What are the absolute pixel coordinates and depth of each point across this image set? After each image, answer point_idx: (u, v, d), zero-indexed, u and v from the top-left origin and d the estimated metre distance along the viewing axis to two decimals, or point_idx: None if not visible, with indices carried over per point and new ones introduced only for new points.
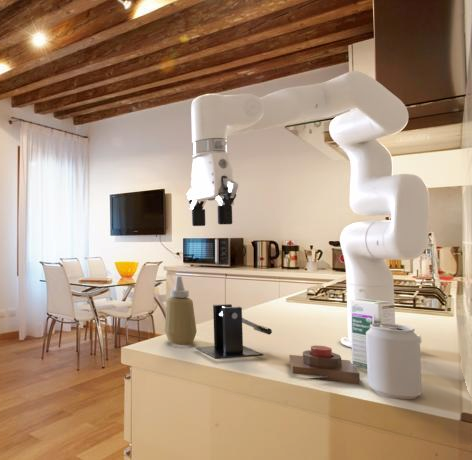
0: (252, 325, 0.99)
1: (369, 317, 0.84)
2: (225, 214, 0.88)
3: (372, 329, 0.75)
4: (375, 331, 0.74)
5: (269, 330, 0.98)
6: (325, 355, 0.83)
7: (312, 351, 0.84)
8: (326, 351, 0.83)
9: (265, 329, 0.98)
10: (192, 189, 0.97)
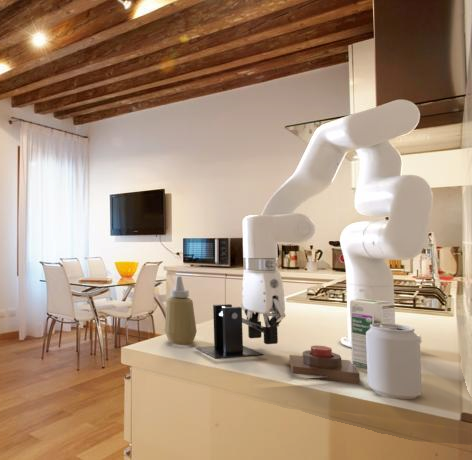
0: (252, 325, 0.99)
1: (369, 317, 0.84)
2: (271, 335, 0.96)
3: (372, 329, 0.75)
4: (375, 331, 0.74)
5: None
6: (325, 355, 0.83)
7: (312, 351, 0.84)
8: (326, 351, 0.83)
9: None
10: (243, 298, 1.04)
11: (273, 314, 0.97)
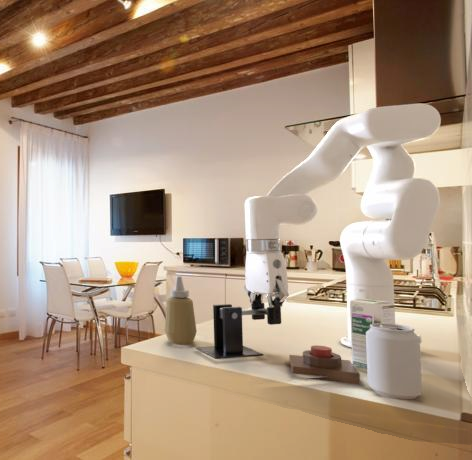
0: (254, 313, 0.99)
1: (369, 317, 0.84)
2: (274, 316, 0.96)
3: (372, 329, 0.75)
4: (375, 331, 0.74)
5: None
6: (325, 355, 0.83)
7: (312, 351, 0.84)
8: (326, 351, 0.83)
9: None
10: (246, 280, 1.04)
11: (276, 294, 0.97)
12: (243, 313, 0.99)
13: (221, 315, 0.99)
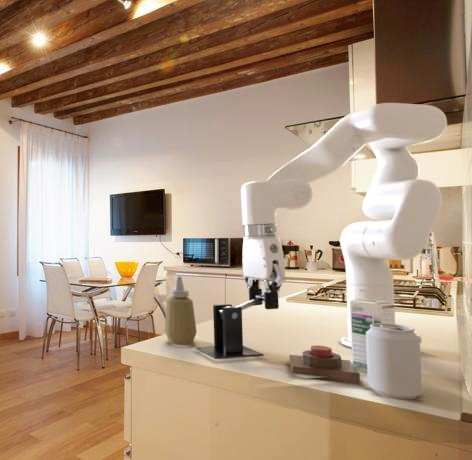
0: (253, 303, 0.99)
1: (369, 317, 0.84)
2: (271, 300, 0.96)
3: (372, 329, 0.75)
4: (375, 331, 0.74)
5: None
6: (325, 355, 0.83)
7: (312, 351, 0.84)
8: (326, 351, 0.83)
9: None
10: (243, 266, 1.04)
11: (273, 279, 0.97)
12: (242, 308, 0.99)
13: (222, 317, 0.99)
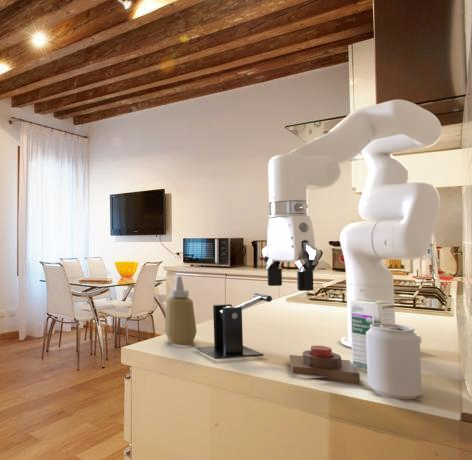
0: (253, 303, 0.99)
1: (369, 317, 0.84)
2: (306, 281, 0.85)
3: (372, 329, 0.75)
4: (375, 331, 0.74)
5: (268, 297, 0.98)
6: (325, 355, 0.83)
7: (312, 351, 0.84)
8: (326, 351, 0.83)
9: (265, 299, 0.98)
10: (268, 248, 0.95)
11: (305, 258, 0.87)
12: (242, 308, 0.99)
13: (222, 317, 0.99)
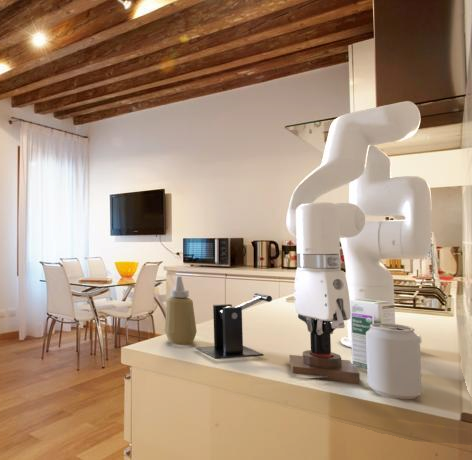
0: (253, 303, 0.99)
1: (369, 317, 0.84)
2: (323, 344, 0.83)
3: (372, 329, 0.75)
4: (375, 331, 0.74)
5: (268, 297, 0.98)
6: None
7: None
8: (326, 356, 0.83)
9: (265, 299, 0.98)
10: (296, 302, 0.88)
11: (330, 321, 0.82)
12: (242, 308, 0.99)
13: (222, 317, 0.99)
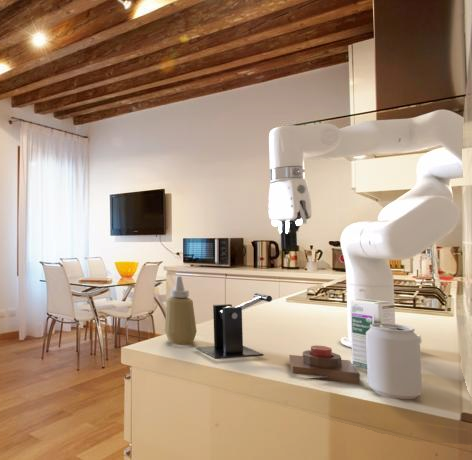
0: (253, 303, 0.99)
1: (369, 317, 0.84)
2: (291, 240, 1.02)
3: (372, 329, 0.75)
4: (375, 331, 0.74)
5: (268, 297, 0.98)
6: (325, 355, 0.83)
7: (312, 351, 0.84)
8: (326, 351, 0.83)
9: (265, 299, 0.98)
10: (269, 210, 1.07)
11: None
12: (242, 308, 0.99)
13: (222, 317, 0.99)
